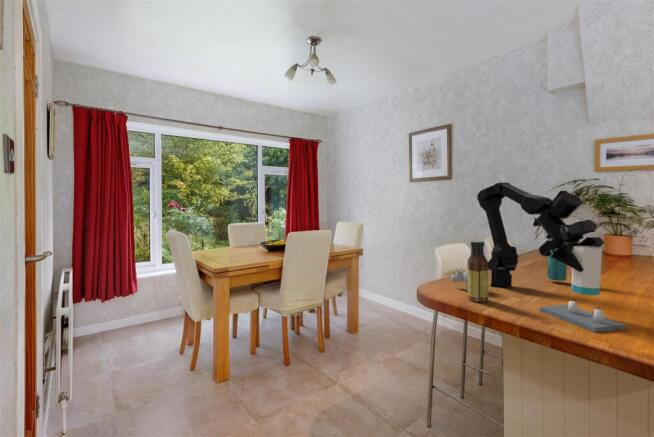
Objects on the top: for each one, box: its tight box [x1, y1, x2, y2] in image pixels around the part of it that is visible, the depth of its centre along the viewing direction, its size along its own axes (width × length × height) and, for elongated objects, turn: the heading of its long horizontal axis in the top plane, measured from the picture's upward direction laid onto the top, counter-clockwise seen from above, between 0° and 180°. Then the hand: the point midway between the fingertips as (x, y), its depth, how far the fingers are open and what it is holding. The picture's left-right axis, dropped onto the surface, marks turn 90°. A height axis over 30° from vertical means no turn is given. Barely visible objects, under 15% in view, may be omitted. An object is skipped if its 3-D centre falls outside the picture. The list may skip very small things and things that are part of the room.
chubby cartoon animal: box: [450, 268, 468, 292], centre depth 118 cm, size 7×12×8 cm, turn 48°
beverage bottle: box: [547, 250, 568, 282], centre depth 128 cm, size 6×7×20 cm
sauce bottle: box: [467, 240, 489, 303], centre depth 105 cm, size 7×6×20 cm
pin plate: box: [539, 300, 627, 333], centre depth 88 cm, size 16×10×4 cm, turn 12°
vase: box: [570, 246, 603, 296], centre depth 90 cm, size 6×6×13 cm
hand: (590, 270), depth 89 cm, fingers closed on vase, 6 cm apart
